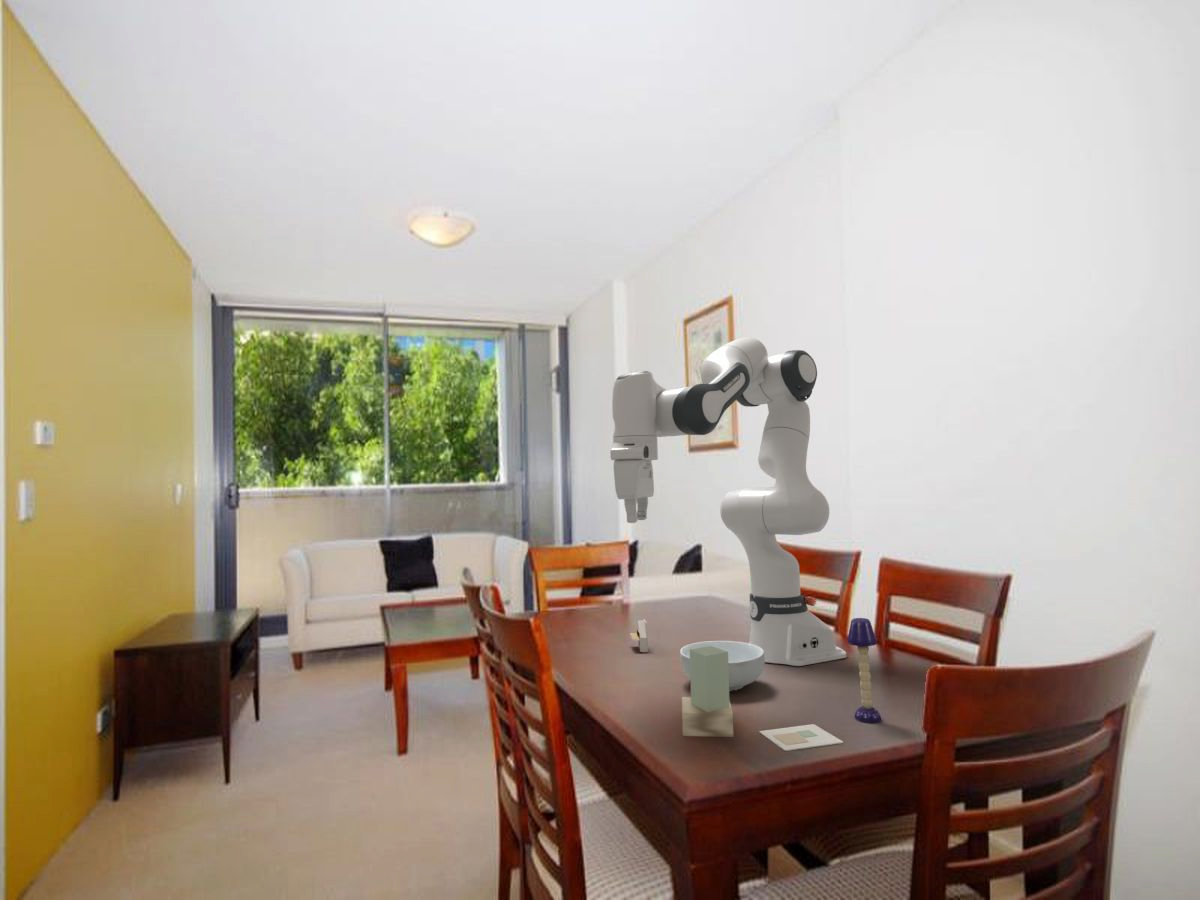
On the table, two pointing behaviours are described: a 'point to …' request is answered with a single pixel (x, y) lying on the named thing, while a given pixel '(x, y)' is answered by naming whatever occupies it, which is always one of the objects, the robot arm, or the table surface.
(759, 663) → the cereal bowl
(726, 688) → the column brick
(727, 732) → the base brick
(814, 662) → the robot arm
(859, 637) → the toy lamp
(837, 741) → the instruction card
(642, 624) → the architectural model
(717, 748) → the table surface
